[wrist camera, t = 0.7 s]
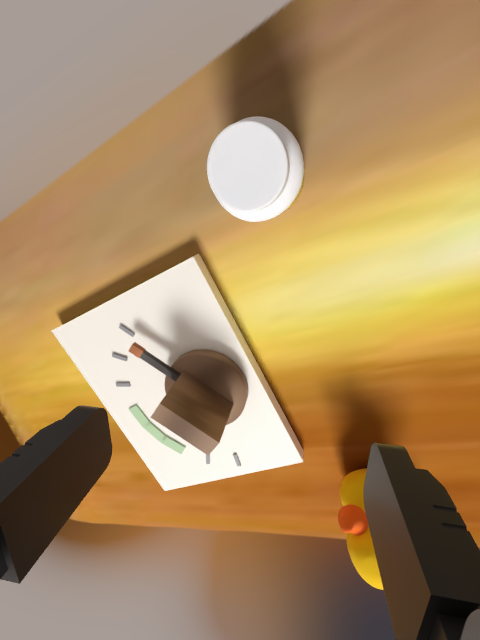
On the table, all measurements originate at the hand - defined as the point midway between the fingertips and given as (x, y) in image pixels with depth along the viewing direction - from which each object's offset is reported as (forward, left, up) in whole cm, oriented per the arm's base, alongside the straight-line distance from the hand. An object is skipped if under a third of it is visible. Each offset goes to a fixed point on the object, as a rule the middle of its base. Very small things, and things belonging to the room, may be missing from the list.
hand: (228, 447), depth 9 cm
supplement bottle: (-3, -8, -19) cm, 21 cm away
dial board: (+14, +6, -19) cm, 25 cm away
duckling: (0, +23, -19) cm, 30 cm away
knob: (+11, +4, -17) cm, 21 cm away
